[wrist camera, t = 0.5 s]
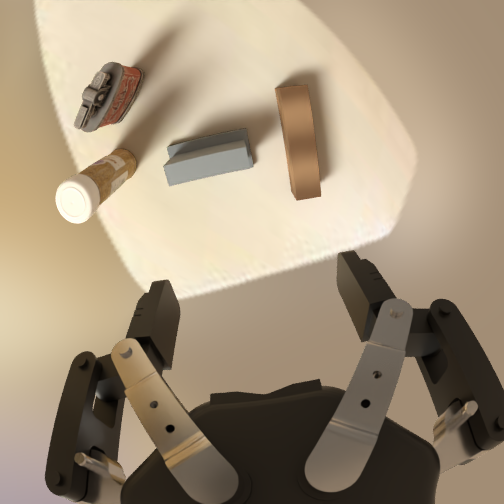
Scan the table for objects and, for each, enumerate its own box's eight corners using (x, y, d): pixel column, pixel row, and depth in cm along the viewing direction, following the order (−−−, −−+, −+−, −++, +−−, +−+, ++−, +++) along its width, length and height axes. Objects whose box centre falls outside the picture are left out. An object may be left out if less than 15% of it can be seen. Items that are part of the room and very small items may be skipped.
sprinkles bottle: (128, 142, 30) (77, 171, 19) (142, 171, 33) (100, 213, 21) (102, 158, 31) (46, 193, 20) (116, 185, 33) (69, 231, 22)
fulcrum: (168, 146, 31) (155, 156, 26) (246, 128, 31) (248, 134, 26) (178, 181, 34) (168, 198, 29) (253, 165, 34) (256, 178, 29)
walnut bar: (274, 88, 29) (279, 87, 26) (299, 85, 28) (307, 84, 25) (291, 190, 36) (296, 200, 33) (313, 187, 36) (321, 196, 33)
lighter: (129, 63, 25) (92, 55, 16) (150, 72, 26) (119, 65, 17) (101, 118, 28) (60, 130, 20) (121, 127, 29) (84, 141, 21)
